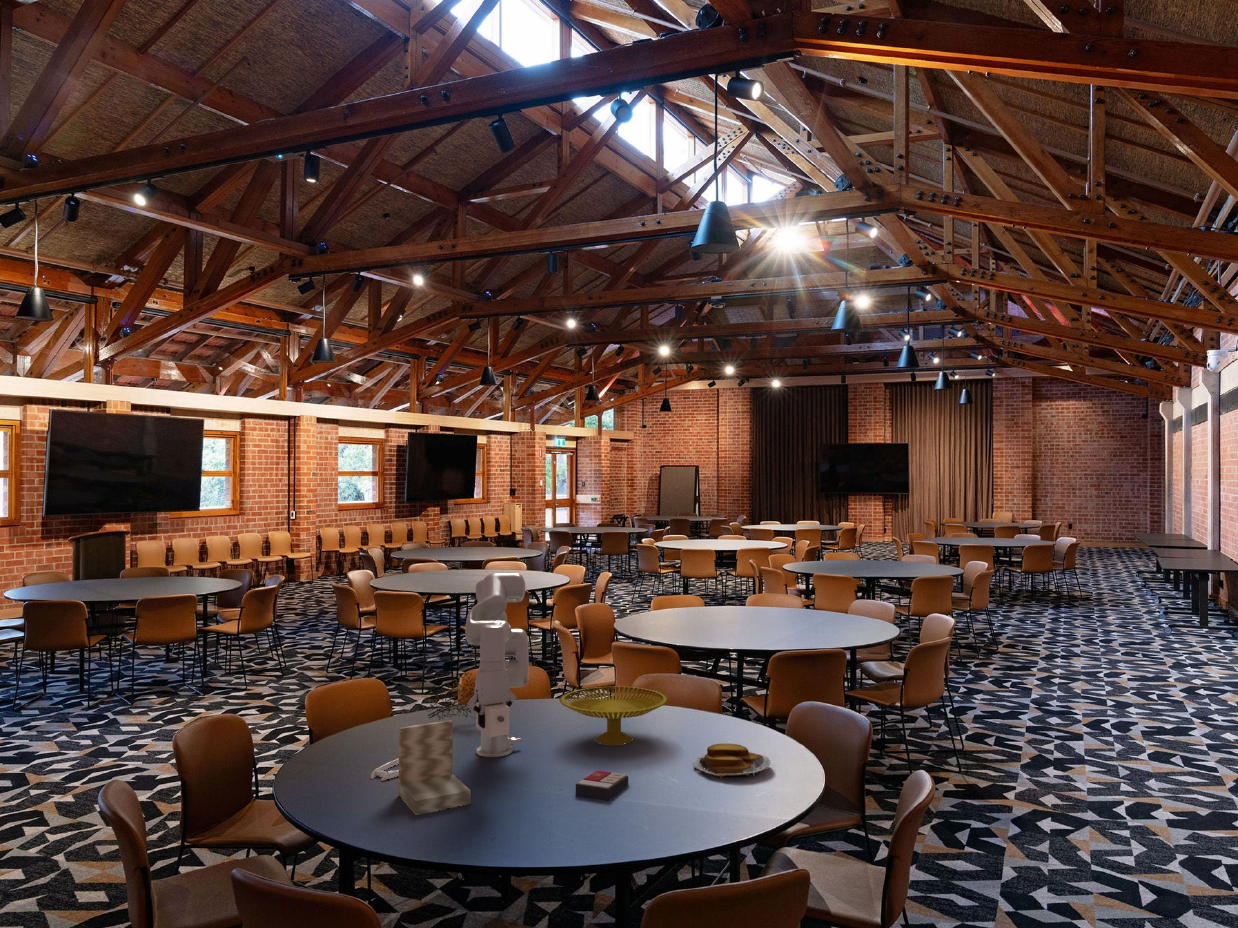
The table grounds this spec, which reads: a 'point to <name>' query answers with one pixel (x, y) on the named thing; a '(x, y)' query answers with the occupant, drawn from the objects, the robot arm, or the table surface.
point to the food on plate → (731, 761)
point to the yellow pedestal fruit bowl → (613, 709)
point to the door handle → (384, 774)
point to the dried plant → (454, 698)
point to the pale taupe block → (495, 719)
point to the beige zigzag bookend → (429, 769)
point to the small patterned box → (601, 785)
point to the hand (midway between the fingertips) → (492, 724)
